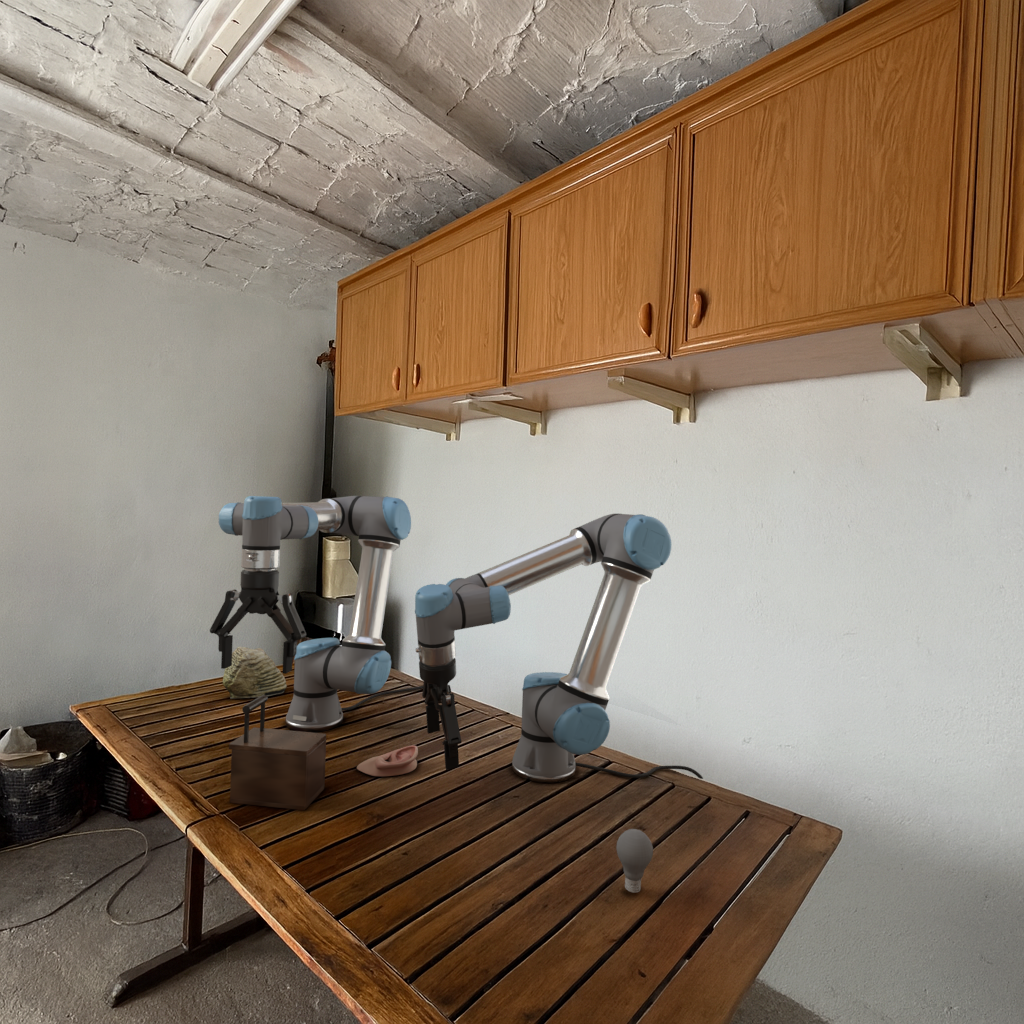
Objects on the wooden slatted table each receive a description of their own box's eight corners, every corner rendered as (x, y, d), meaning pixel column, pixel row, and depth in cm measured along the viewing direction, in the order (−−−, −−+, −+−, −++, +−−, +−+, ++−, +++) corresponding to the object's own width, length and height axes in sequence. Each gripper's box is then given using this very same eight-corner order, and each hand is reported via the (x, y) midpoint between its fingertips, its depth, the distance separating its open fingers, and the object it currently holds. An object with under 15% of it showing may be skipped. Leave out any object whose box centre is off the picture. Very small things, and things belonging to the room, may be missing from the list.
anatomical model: (351, 756, 145) (372, 738, 156) (350, 773, 145) (371, 754, 156) (406, 763, 142) (423, 744, 154) (405, 780, 143) (422, 760, 154)
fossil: (218, 695, 195) (220, 647, 195) (278, 685, 208) (279, 640, 207) (228, 703, 189) (230, 653, 188) (289, 692, 201) (290, 645, 201)
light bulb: (610, 879, 108) (613, 822, 108) (644, 879, 109) (647, 822, 109) (619, 902, 102) (622, 840, 102) (655, 901, 103) (658, 840, 103)
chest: (229, 802, 130) (231, 749, 129) (254, 781, 139) (256, 732, 139) (304, 810, 128) (306, 756, 128) (324, 788, 138) (326, 738, 137)
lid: (228, 749, 129) (230, 706, 129) (253, 732, 139) (255, 692, 139) (306, 756, 128) (308, 712, 127) (326, 738, 137) (327, 697, 137)
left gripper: (194, 567, 131) (190, 669, 131) (309, 574, 128) (305, 678, 129) (215, 564, 139) (211, 660, 139) (324, 570, 136) (320, 669, 136)
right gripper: (404, 637, 140) (411, 722, 145) (436, 692, 117) (442, 790, 123) (437, 631, 142) (442, 714, 148) (474, 683, 120) (478, 779, 126)
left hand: (256, 669), depth 134 cm, fingers open, 13 cm apart
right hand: (442, 748), depth 135 cm, fingers open, 13 cm apart
